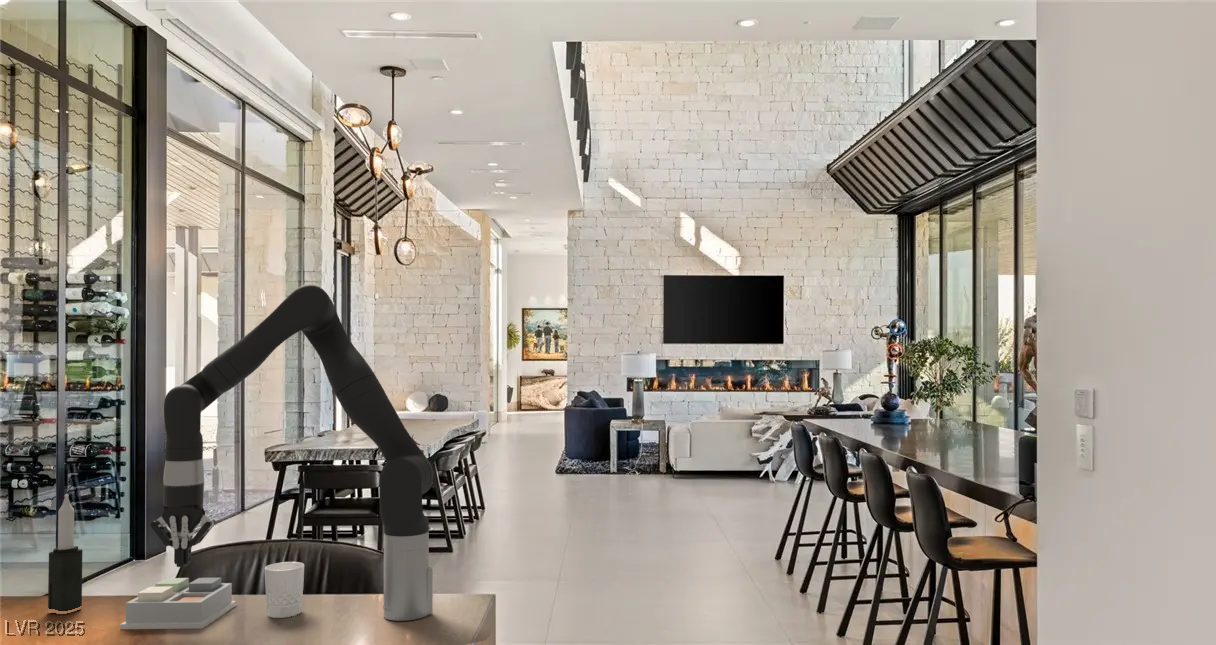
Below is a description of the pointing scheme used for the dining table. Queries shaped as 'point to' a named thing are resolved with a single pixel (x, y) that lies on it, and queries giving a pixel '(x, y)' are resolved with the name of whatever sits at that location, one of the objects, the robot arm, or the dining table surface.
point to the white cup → (284, 589)
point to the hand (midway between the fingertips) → (182, 566)
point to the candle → (65, 564)
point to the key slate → (205, 585)
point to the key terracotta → (191, 599)
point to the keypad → (179, 610)
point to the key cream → (155, 594)
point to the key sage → (174, 583)
